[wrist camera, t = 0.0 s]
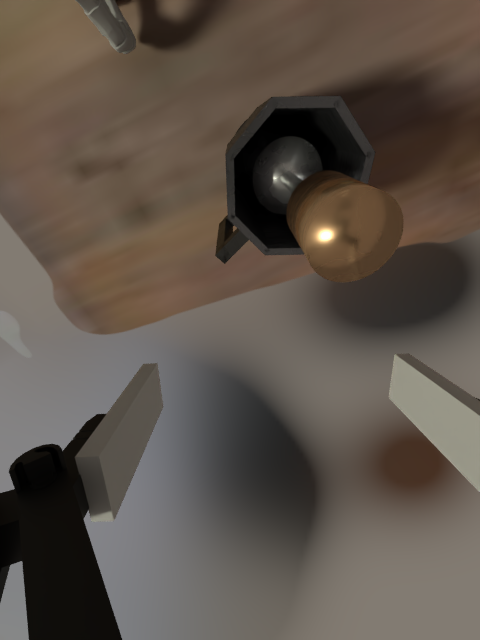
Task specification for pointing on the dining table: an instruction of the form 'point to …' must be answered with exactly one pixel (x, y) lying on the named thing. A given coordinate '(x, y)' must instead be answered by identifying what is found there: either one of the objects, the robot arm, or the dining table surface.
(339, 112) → the press body
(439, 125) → the dining table surface
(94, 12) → the mug
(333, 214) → the plunger
